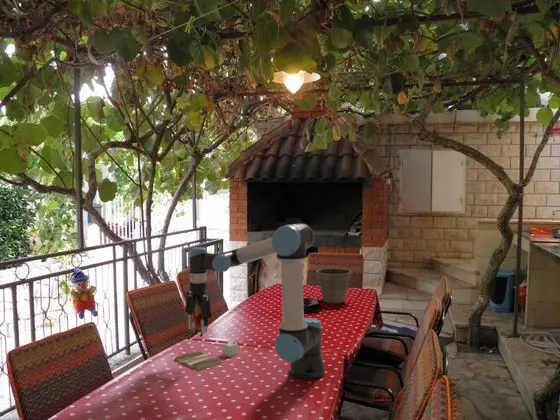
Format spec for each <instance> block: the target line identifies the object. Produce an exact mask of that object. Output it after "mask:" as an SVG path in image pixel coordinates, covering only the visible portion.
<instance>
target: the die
mask: <svg viewBox="0 0 560 420" xmlns="http://www.w3.org/2000/svg"><path fill="white" fill-rule="evenodd" d="M238 345H239V343H236V342H234V341H228V342H227V341H226V342H225V343H223V344H222V355H224V356H225V357H226V356H227V357H229V358H231V357H234V356H236V355H238V354H239V352H238V351H239V346H238Z"/></svg>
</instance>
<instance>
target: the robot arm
mask: <svg viewBox="0 0 560 420" xmlns="http://www.w3.org/2000/svg"><path fill="white" fill-rule="evenodd" d="M314 242H315V234H314V231H313V229H312V228H311V227H310V226H309V225H308V224H306V223H301V222H300V223H299V222H298V223H292V224H285V225H283V226H280V227H278V228H277V229H276V230H275V231H274V232H273V235H272V237H269V238H266V239H263V240H261V241H257V242H254V243H251V244H247V245H244V246H241V247H239V248H235V249H231V250H228V251H223V252H219V253H211V252H210V253H209V252H207V248H206V247H202V246H201V247H200V246H199V247H197V246H196V247H192V248H191V249H190V250H189V257H188V258H189V291H187V292H186V301H185V308H184V312H185V313H187V315H188V317H187V320H188V330H191V329H190V324H191V316H192V313H193V312H194V311H195V310H196V304H197V303H198V305H199V306H200V310H201V313H202V317H203V319H201V327H202V334H203V335H204V334H207V333H208V330H209V329H208V327H209V319H211V318H212V310H211V309H212V308H211V304H210V302H211V301H210V298H211V297H210V295H206V294H205V291H206V290H207V281H208V280H207V278H208V276H207V271H212V272H218V273H220V272H221V273H222V272H223V273H225V272H228V270H229V269H230V268H234V267H238V266H241V265H244V264H246V263H247V264H248V263H251V262H253V261H256V260H260V259H264V258H268V257H270V256H271V257H272V256H274V255H276V259H277V260H278V261H279V262H280V268H281V269H280V270H281V307H282V309H281V310H282V313H281V314H282V321H281V322H280V323H279V325H278V334H279V335H278V336H277V337H276V339H275V341H274V348H275V351H276V354H277V355H278V356H279V357H280V358H281V359H282V360H283V361H285V362H288V363H290V366H289V367H290V368H289V372H290V374H291V375H292V376H294V377H296V378H299V379H305V380H311V379H313V380H314V379H319V378H321V377H323V376H324V375H325V374H326V366H325V364H324V359H323V356H322V335H323V334H322V330H323V328H322V322H321V321H320V319H316V318H312V317H305V314H304V313H305V312H304V280H303V277H304V276H303V275H304V274H303V273H304V272H303V263H304V261H305V260H306V258H307V250H308V249H309V248H311V247H312V245H313V244H314ZM191 327H192V329H195V321H194V322H193V323H192V326H191Z"/></svg>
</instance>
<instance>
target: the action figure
mask: <svg viewBox="0 0 560 420" xmlns="http://www.w3.org/2000/svg"><path fill="white" fill-rule="evenodd" d="M202 319H203V317H202V313H201V310H200V306H199V305H198V303H196V306H195V310H194V312H193V313H192V316H191V324H190V329H189V330H192V329H193V328H192V327H191V326H192V323H193V322H194V323H195V326H194V330H195V332H194V333H193V334H191V335H192V336H196V335H198V333H199V331H200V335H199V338H202V337H203V336H204V334H202V326H201V321H202ZM198 330H199V331H198Z"/></svg>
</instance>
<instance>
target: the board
mask: <svg viewBox="0 0 560 420" xmlns="http://www.w3.org/2000/svg"><path fill="white" fill-rule="evenodd" d="M175 360H176V362H177V363H180V364H182V363H183V364H182V365H184V364H185V366H188V367H189V368H191V367H192V368H191V369H193V368H194V369H193V370H195V369H196V371H198V372H200V371H203V370H206V369H208V368H211V367H213V365H214V366H217V365H220V364H222V363H223V360H222V359H219V358H218V357H214V356H212V355H209V354H207V353H204V352H202V351H200V350H194V351H191V352H189V353H184V354H182V355H179V356H175V357H174V361H175ZM205 368H206V369H205ZM202 369H203V370H202Z"/></svg>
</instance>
